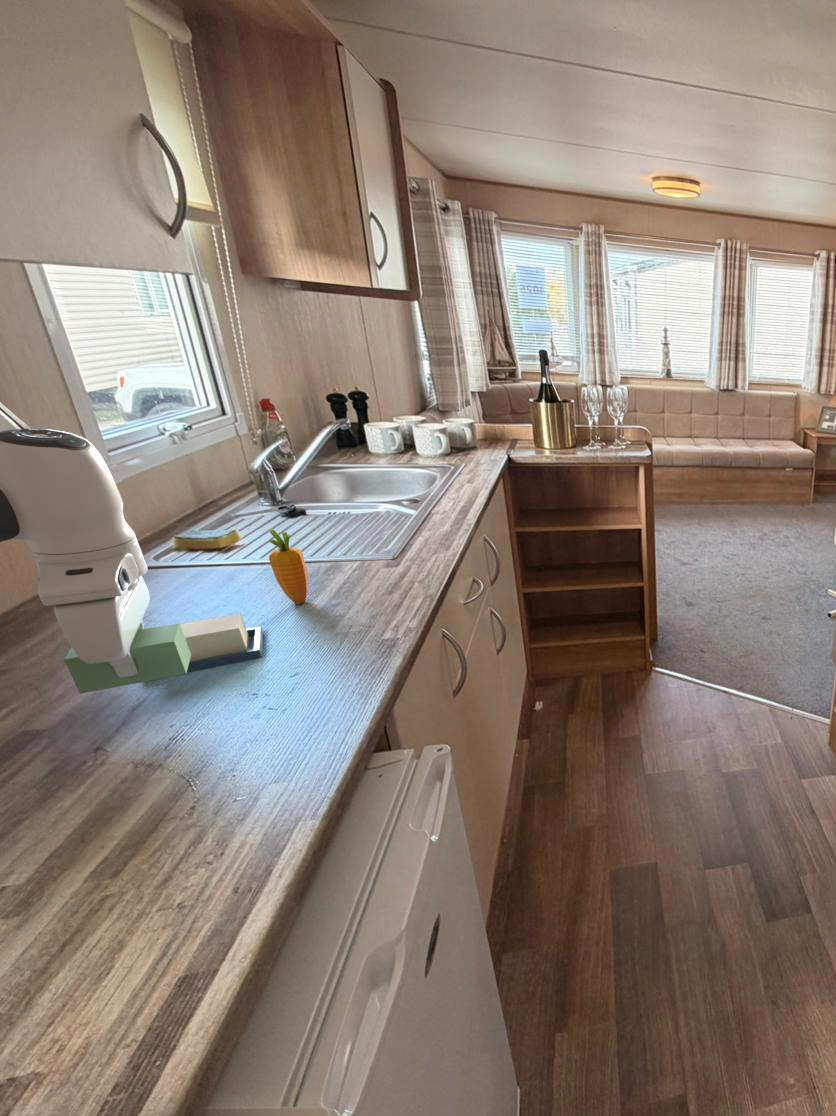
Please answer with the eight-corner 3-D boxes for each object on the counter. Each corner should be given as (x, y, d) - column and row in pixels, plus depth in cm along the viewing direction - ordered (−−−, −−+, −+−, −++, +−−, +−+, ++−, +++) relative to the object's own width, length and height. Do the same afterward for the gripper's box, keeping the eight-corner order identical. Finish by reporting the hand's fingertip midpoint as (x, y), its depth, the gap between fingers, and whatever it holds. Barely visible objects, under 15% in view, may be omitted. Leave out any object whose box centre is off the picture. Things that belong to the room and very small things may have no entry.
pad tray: (146, 685, 94) (140, 672, 93) (155, 657, 101) (150, 645, 100) (263, 661, 101) (259, 649, 101) (264, 637, 108) (261, 626, 108)
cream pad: (164, 672, 96) (151, 643, 94) (169, 655, 100) (157, 627, 98) (248, 655, 102) (239, 628, 100) (250, 640, 106) (241, 613, 104)
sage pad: (79, 693, 80) (63, 659, 78) (90, 672, 84) (75, 639, 82) (186, 673, 86) (174, 641, 84) (191, 654, 90) (179, 623, 88)
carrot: (320, 606, 120) (299, 531, 113) (288, 614, 116) (264, 536, 110) (313, 598, 123) (291, 524, 116) (281, 605, 119) (257, 529, 113)
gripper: (78, 542, 84) (116, 635, 90) (32, 598, 70) (82, 705, 75) (143, 536, 88) (176, 625, 94) (113, 588, 73) (155, 690, 79)
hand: (134, 661), depth 84 cm, fingers closed on sage pad, 6 cm apart
